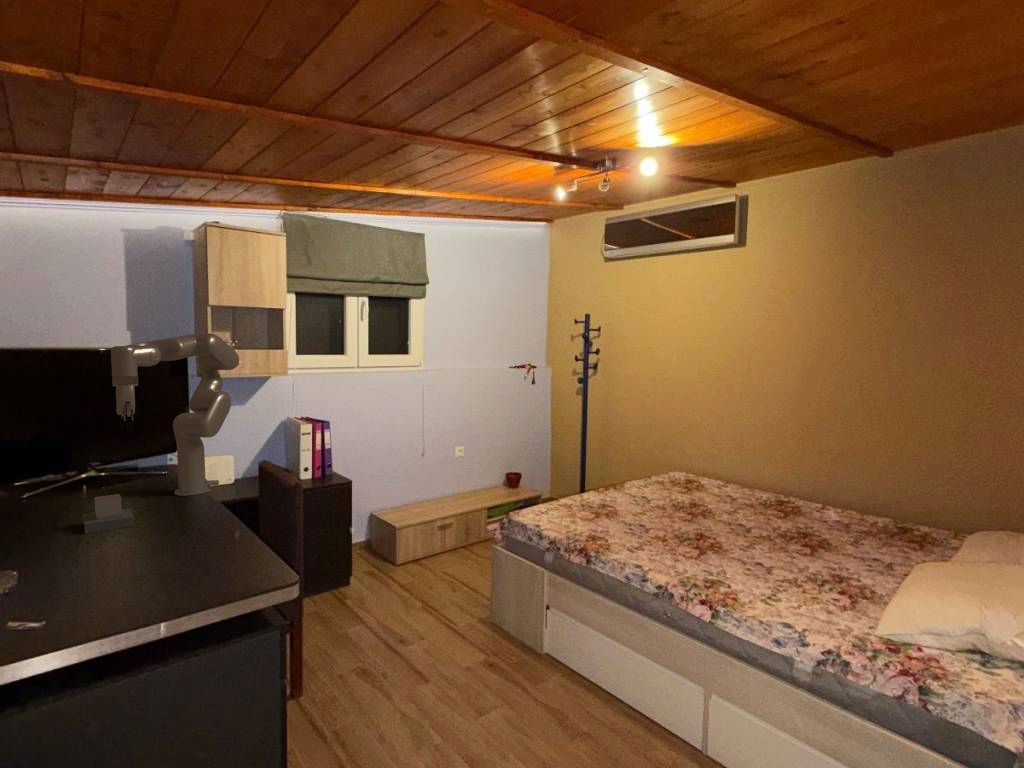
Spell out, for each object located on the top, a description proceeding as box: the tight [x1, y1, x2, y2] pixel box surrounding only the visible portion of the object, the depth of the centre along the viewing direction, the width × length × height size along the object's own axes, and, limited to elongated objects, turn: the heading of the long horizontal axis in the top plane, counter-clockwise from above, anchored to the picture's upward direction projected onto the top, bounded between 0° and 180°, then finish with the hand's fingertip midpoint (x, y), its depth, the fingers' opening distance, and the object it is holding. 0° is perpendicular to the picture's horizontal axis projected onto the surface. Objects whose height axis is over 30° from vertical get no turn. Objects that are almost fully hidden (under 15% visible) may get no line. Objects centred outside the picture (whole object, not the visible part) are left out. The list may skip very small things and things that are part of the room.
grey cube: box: [94, 493, 123, 520], centre depth 196 cm, size 7×7×6 cm
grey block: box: [82, 508, 135, 534], centre depth 196 cm, size 13×13×7 cm
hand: (127, 430), depth 211 cm, fingers open, 9 cm apart
